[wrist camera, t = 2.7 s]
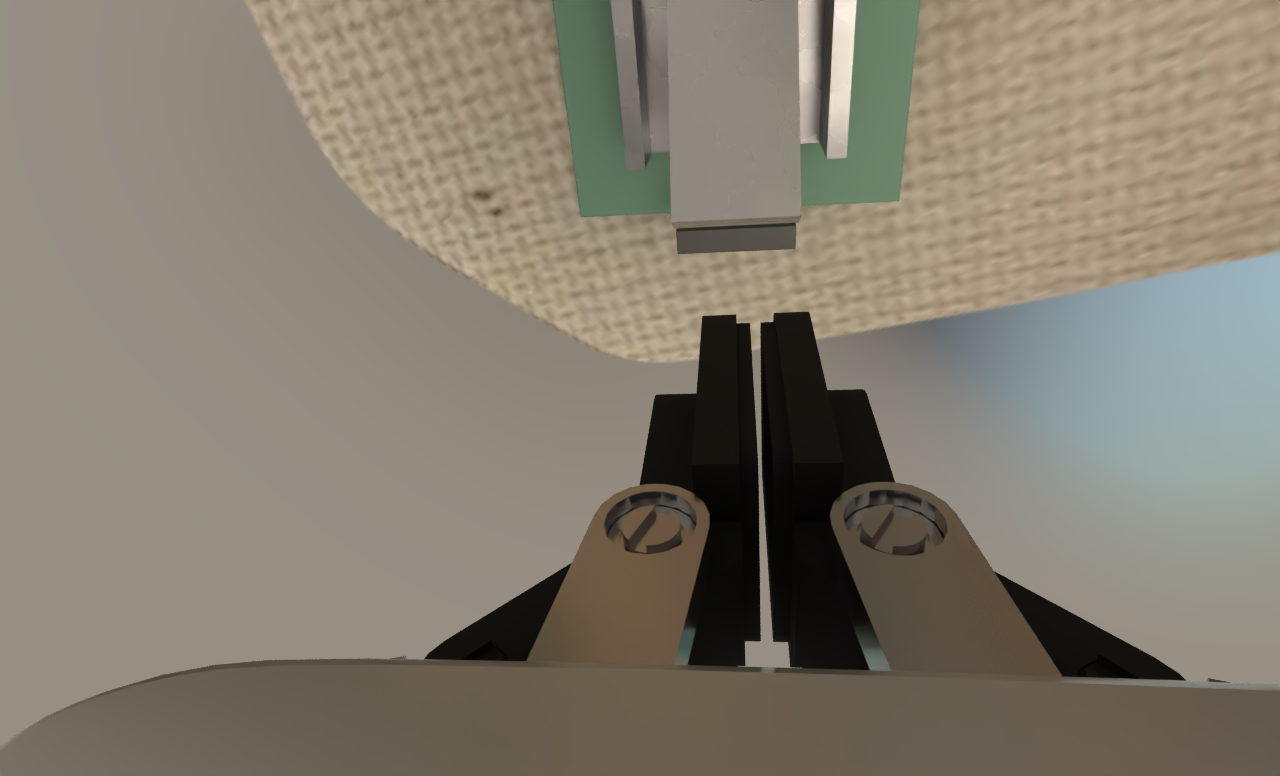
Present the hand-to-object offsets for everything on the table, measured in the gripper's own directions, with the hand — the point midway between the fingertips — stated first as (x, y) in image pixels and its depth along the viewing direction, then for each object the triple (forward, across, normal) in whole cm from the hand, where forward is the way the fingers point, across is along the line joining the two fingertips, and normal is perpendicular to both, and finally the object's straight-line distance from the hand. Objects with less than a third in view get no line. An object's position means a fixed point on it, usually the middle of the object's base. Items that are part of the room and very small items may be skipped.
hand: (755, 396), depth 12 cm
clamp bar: (+17, 0, -6) cm, 18 cm away
